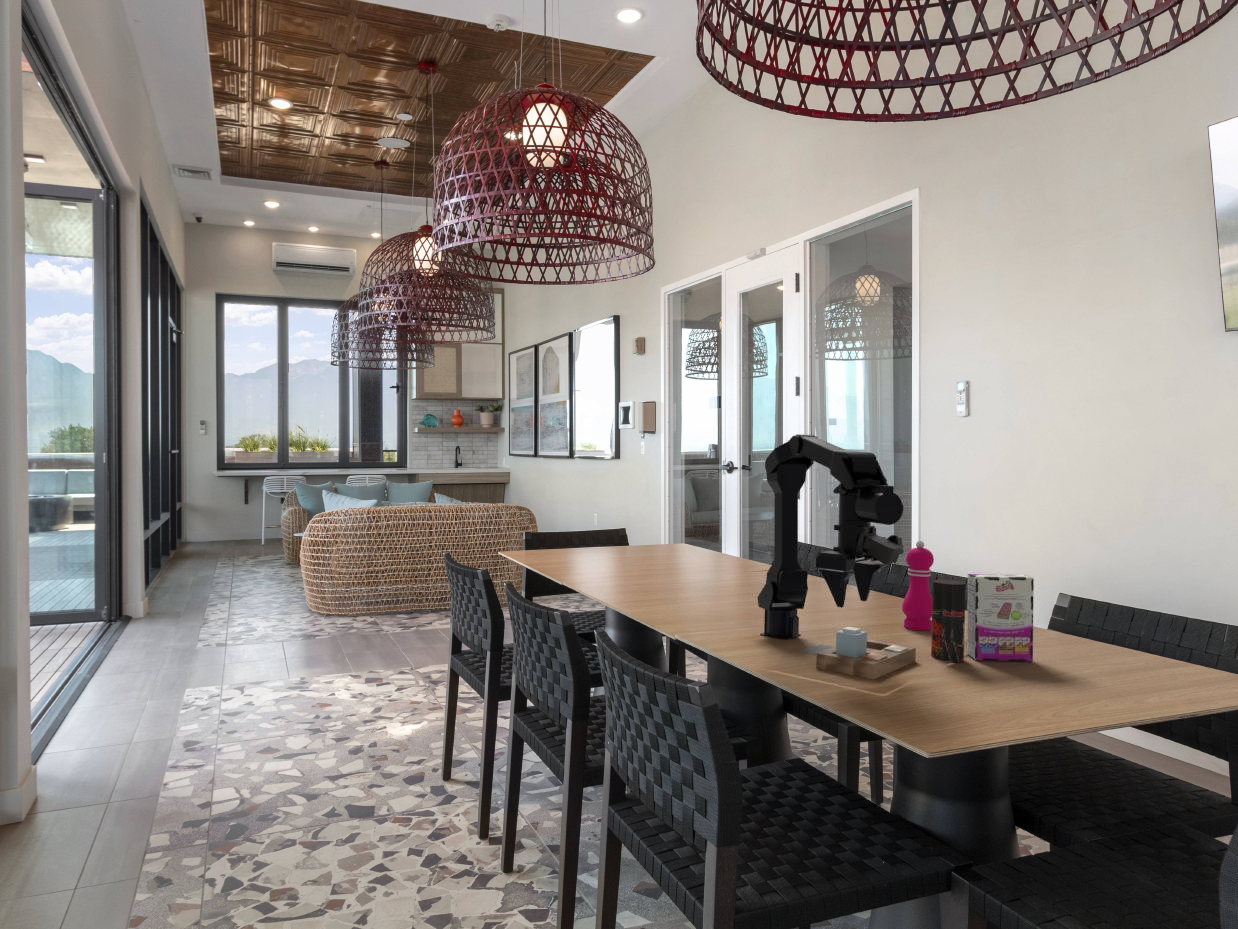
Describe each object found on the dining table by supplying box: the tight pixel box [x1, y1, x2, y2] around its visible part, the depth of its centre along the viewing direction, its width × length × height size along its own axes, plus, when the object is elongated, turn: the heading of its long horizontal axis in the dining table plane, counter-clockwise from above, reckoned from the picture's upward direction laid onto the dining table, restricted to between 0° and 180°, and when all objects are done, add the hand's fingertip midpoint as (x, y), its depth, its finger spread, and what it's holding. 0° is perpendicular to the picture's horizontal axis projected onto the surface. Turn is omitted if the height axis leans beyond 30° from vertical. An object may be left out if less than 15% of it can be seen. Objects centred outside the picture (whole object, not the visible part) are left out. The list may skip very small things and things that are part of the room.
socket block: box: [815, 638, 917, 680], centre depth 154 cm, size 11×18×3 cm, turn 138°
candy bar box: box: [966, 573, 1035, 663], centre depth 163 cm, size 11×5×16 cm, turn 88°
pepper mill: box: [901, 540, 935, 631], centre depth 191 cm, size 7×7×20 cm
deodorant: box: [930, 579, 967, 664], centre depth 161 cm, size 6×6×15 cm
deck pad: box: [798, 644, 835, 656], centre depth 164 cm, size 9×9×1 cm
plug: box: [835, 626, 868, 658], centre depth 152 cm, size 4×4×8 cm
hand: (852, 604), depth 154 cm, fingers open, 9 cm apart
